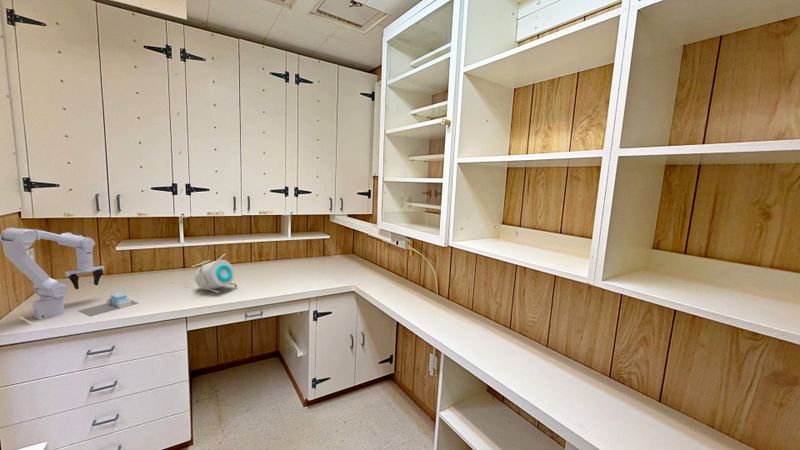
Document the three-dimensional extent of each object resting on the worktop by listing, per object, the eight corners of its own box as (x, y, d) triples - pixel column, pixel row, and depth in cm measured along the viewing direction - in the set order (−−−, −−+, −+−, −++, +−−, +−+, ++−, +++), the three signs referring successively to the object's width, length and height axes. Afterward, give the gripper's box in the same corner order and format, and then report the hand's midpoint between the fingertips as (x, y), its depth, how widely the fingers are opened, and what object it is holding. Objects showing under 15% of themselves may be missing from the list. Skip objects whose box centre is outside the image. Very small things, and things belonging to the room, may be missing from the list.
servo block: (119, 307, 163) (119, 297, 162) (109, 303, 167) (108, 292, 167) (129, 305, 167) (128, 294, 166) (118, 301, 171) (118, 290, 170)
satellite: (211, 256, 210) (174, 268, 187) (233, 248, 204) (199, 259, 180) (224, 288, 212) (190, 304, 189) (247, 281, 206) (214, 297, 182)
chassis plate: (90, 318, 152) (89, 311, 152) (77, 312, 157) (76, 305, 157) (139, 305, 170) (139, 298, 170) (126, 300, 175) (126, 293, 175)
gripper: (69, 264, 155) (71, 292, 157) (106, 259, 168) (108, 284, 170) (62, 262, 158) (64, 289, 160) (99, 257, 171) (101, 282, 173)
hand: (86, 286), depth 165 cm, fingers open, 7 cm apart
